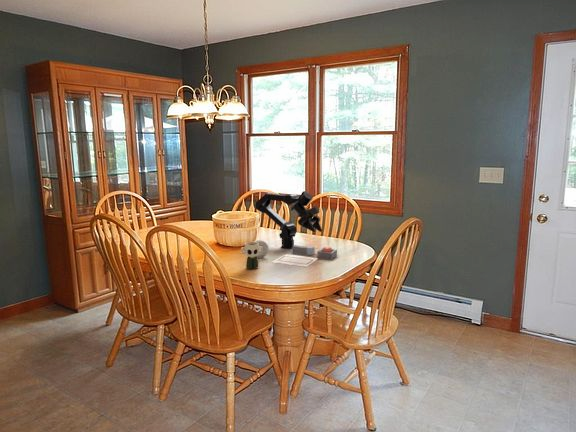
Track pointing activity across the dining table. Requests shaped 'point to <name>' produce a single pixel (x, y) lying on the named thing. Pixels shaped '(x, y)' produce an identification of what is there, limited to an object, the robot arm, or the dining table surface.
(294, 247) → the gray rectangular block
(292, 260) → the paper sheet
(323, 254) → the button housing
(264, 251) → the donut
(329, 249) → the button
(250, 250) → the big-eyed character figurine
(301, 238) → the dining table surface
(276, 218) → the robot arm
